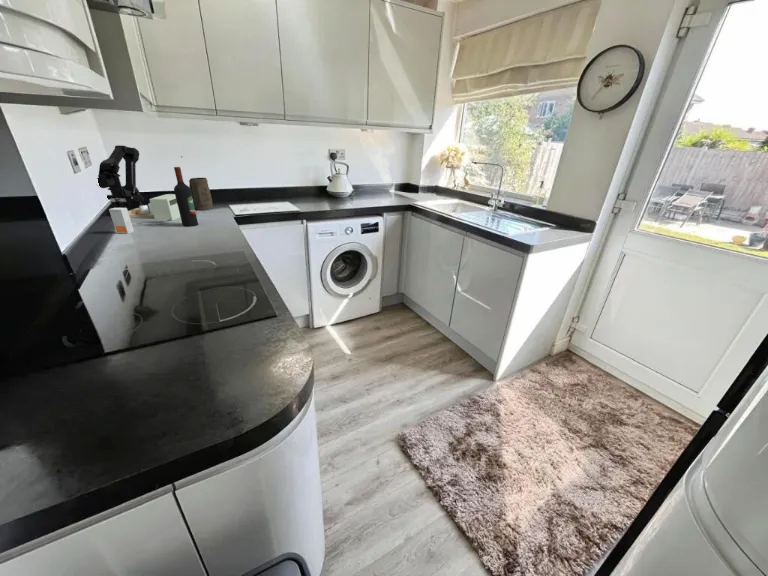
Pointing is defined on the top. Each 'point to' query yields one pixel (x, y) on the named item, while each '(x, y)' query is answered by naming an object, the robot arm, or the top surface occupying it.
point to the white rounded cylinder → (144, 210)
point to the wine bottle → (184, 201)
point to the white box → (150, 209)
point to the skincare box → (121, 220)
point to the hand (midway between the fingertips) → (123, 213)
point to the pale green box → (165, 207)
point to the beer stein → (201, 193)
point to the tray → (139, 214)
